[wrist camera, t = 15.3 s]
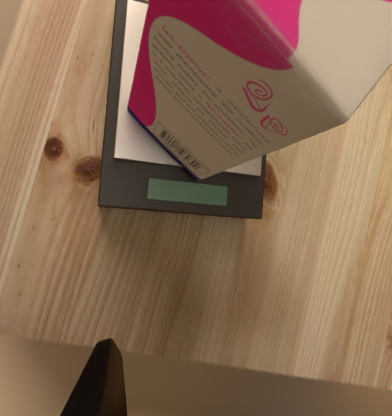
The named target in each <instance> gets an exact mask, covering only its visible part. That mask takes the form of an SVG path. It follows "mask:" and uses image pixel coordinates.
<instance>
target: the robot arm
mask: <svg viewBox="0 0 392 416" xmlns="http://www.w3.org/2000/svg"><path fill="white" fill-rule="evenodd" d="M60 416H127V410H126V396H125V384H124V372H123V361H122V355H121V353H120V351H119V349H118V347H117V345H116V344H115V342H114V340H113V339H111V338H109V339H105V340H102V341H99V342H98V343H97V344H96V346H95V348H94V350H93V352H92V354H91V356H90V358H89V360H88V361H87V363H86V365H85V368H84V370H83V371H82V374H81V375H80V378H79V379H78V381H77V384H76V385H75V387H74V389H73V391H72V393H71V395H70V397H69V399H68V401H67V403H66V405H65V407H64V409H63V411H62V413H61V415H60Z"/></svg>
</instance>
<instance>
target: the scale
mask: <svg viewBox="0 0 392 416" xmlns="http://www.w3.org/2000/svg"><path fill="white" fill-rule="evenodd" d="M148 4H149V1H146V0H116V3H115V15H114V26H113V38H112V49H111V60H110V72H109V83H108V95H107V106H106V117H105V129H104V140H103V152H102V163H101V174H100V186H99V197H98V206H100V207H112V208H124V209H137V210H149V211H162V212H174V213H186V214H199V215H211V216H223V217H236V218H250V219H262V208H263V193H264V179H265V165H266V154H265V155H263V156H260V157H258V158H255V159H253V160H250V161H247V162H245V163H243V164H240V165H238V166H235V167H233V168H230V169H228V170H225V171H223V172H220V173H218V174H215V175H213V176H210V177H208V178H205V179H202V180H200V181H197V180H196V179H195V178H194V177H193V176H192V175H191V174H190V173H189V172H188V171H187V170H186V169H185V168H184V167H183V166H182V165H181V164H180V163H179V162H178V161H177V160H176V159H175V158H174V157H173V156H172V155H171V154H170V153H169V152H168V151H167V150H166V149H165V148H164V147H163V146H162V145H161V144H160V143H159V142H158V141H157V140H156V139H155V138H154V137H153V136H152V135H151V134H150V133H149V132H148V131H147V130H146V129H145V128H144V127H143V126H142V125H141V124H140V123H139V122H138V121H137V120H136V119H135V118H134V117H133V116H132V115H131V114H130V112H129V111H128V110H127V106H128V101H129V96H130V92H131V87H132V82H133V77H134V72H135V67H136V62H137V57H138V52H139V47H140V42H141V37H142V32H143V27H144V23H145V17H146V12H147V9H148Z"/></svg>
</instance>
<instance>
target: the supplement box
mask: <svg viewBox="0 0 392 416" xmlns="http://www.w3.org/2000/svg"><path fill="white" fill-rule="evenodd" d="M391 65H392V0H149V4H148V9H147V12H146V17H145V23H144V27H143V32H142V37H141V42H140V47H139V52H138V57H137V62H136V67H135V72H134V77H133V82H132V87H131V92H130V96H129V101H128V106H127V110H128V111H129V112H130V114H131V115H132V116H133V117H134V118H135V119H136V120H137V121H138V122H139V123H140V124H141V125H142V126H143V127H144V128H145V129H146V130H147V131H148V132H149V133H150V134H151V135H152V136H153V137H154V138H155V139H156V140H157V141H158V142H159V143H160V144H161V145H162V146H163V147H164V148H165V149H166V150H167V151H168V152H169V153H170V154H171V155H172V156H173V157H174V158H175V159H176V160H177V161H178V162H179V163H180V164H181V165H182V166H183V167H184V168H185V169H186V170H187V171H188V172H189V173H190V174H191V175H192V176H193V177H194V178H195V179H196V180H197V181H200V180H202V179H205V178H208V177H210V176H213V175H215V174H218V173H220V172H223V171H225V170H228V169H230V168H233V167H235V166H238V165H240V164H243V163H245V162H247V161H250V160H253V159H255V158H258V157H260V156H263V155H265V154H268V153H270V152H273V151H275V150H278V149H280V148H283V147H286V146H288V145H291V144H293V143H296V142H298V141H301V140H303V139H306V138H309V137H311V136H313V135H316V134H319V133H321V132H324V131H326V130H329V129H331V128H334V127H336V126H339V125H341V124H343V123H345V122H346V121H347V120H348V119H349V118H350V117H351V115H352V114H353V113H354V112H355V110H356V109H357V108H358V107H359V105H360V104H361V103H362V101H363V100H364V99H365V98H366V96H367V95H368V94H369V93H370V91H371V90H372V89H373V88H374V86H375V85H376V84H377V82H378V81H379V80H380V79H381V77H382V76H383V75H384V73H385V72H386V71H387V70H388V68H389V67H390V66H391Z"/></svg>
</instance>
